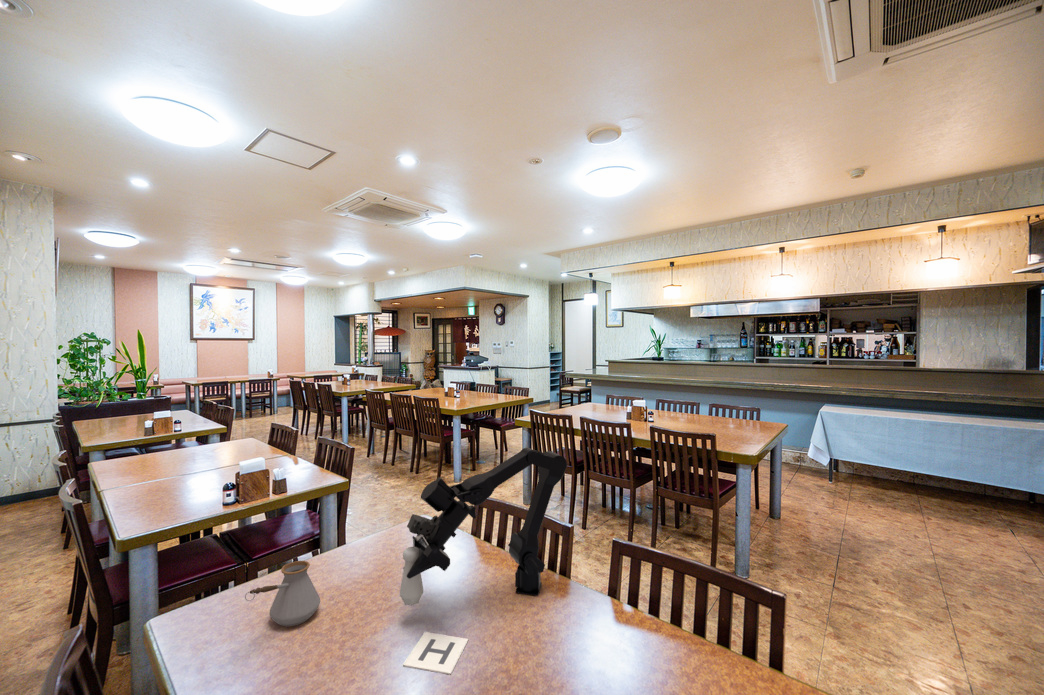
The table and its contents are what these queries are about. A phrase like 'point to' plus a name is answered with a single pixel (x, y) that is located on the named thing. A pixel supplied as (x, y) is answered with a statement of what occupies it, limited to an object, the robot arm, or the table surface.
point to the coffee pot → (292, 595)
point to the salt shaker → (411, 579)
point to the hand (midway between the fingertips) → (406, 573)
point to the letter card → (436, 653)
